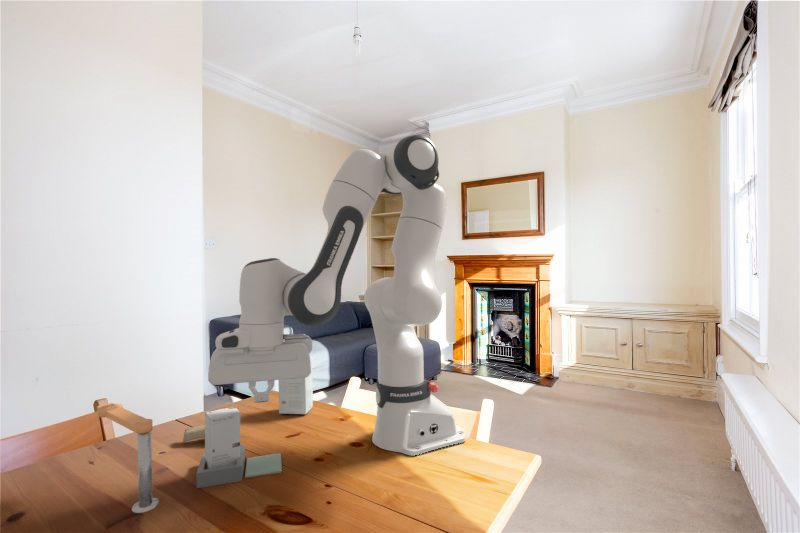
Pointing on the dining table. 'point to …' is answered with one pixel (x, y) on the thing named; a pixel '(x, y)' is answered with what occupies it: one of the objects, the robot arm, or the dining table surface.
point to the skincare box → (222, 437)
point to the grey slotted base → (220, 472)
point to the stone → (194, 433)
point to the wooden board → (125, 418)
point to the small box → (296, 395)
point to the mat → (263, 465)
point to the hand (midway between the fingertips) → (261, 401)
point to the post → (145, 475)
